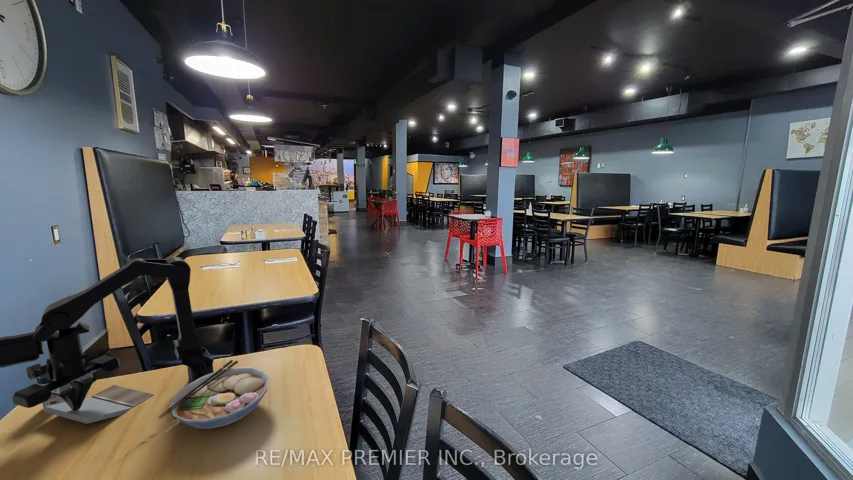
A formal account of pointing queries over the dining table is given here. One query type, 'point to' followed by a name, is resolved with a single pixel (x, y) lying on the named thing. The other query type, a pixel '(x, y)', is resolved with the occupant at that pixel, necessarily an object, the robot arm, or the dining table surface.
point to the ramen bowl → (220, 397)
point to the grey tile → (87, 410)
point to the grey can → (53, 398)
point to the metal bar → (123, 395)
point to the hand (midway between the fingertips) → (76, 409)
